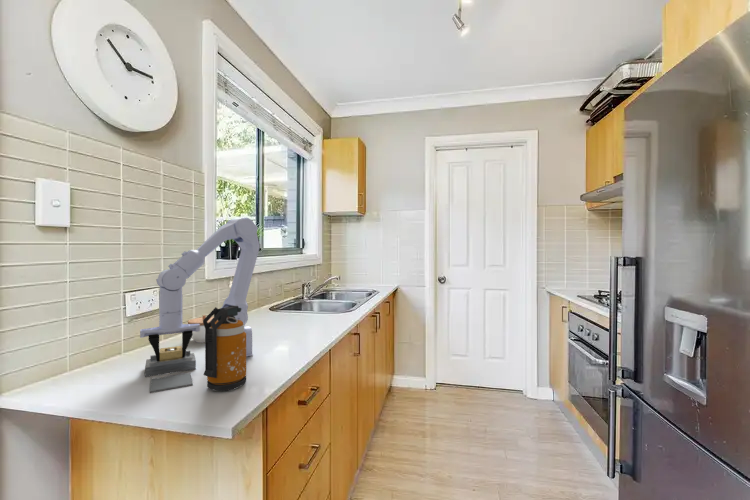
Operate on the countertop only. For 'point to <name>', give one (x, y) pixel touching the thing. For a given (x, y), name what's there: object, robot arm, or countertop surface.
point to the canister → (225, 349)
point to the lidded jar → (200, 334)
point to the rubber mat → (170, 382)
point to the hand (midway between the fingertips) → (171, 359)
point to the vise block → (169, 365)
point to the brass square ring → (170, 353)
